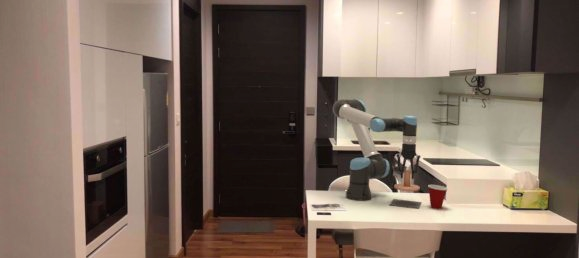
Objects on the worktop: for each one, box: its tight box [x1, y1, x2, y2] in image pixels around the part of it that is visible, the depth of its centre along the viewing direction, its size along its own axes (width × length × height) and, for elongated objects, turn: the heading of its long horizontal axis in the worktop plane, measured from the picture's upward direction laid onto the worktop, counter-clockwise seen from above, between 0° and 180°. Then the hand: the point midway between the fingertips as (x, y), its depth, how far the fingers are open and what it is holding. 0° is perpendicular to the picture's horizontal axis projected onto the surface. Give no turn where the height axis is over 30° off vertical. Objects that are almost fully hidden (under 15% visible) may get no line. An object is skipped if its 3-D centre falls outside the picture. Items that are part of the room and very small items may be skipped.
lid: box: [393, 169, 420, 192], centre depth 282 cm, size 14×14×10 cm
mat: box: [388, 198, 422, 210], centre depth 284 cm, size 16×15×1 cm
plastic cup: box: [427, 184, 448, 210], centre depth 278 cm, size 11×11×12 cm
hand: (407, 184), depth 282 cm, fingers closed on lid, 3 cm apart
